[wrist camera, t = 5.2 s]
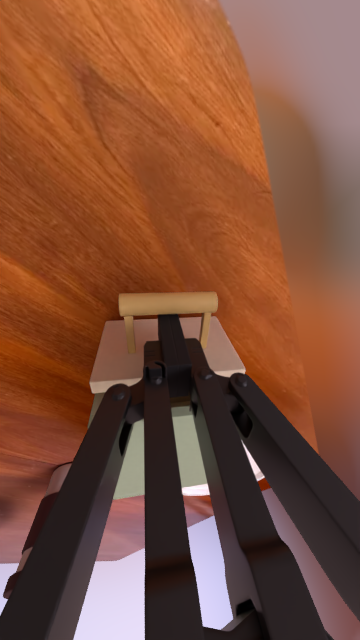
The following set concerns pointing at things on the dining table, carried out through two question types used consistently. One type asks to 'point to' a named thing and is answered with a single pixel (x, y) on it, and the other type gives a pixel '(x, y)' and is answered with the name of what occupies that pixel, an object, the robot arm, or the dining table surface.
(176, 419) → the cabinet
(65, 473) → the coffee cup
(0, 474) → the dining table surface
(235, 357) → the drawer
